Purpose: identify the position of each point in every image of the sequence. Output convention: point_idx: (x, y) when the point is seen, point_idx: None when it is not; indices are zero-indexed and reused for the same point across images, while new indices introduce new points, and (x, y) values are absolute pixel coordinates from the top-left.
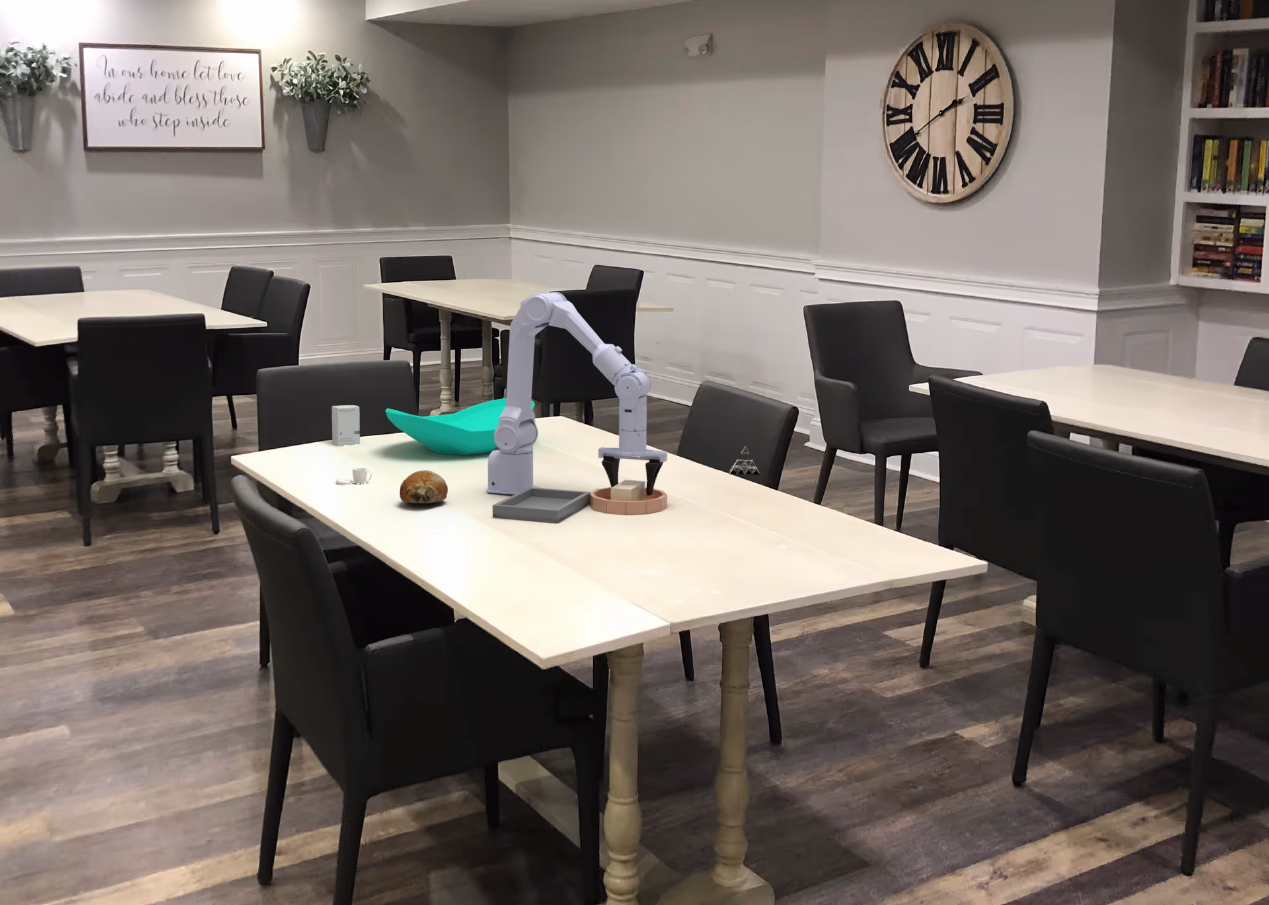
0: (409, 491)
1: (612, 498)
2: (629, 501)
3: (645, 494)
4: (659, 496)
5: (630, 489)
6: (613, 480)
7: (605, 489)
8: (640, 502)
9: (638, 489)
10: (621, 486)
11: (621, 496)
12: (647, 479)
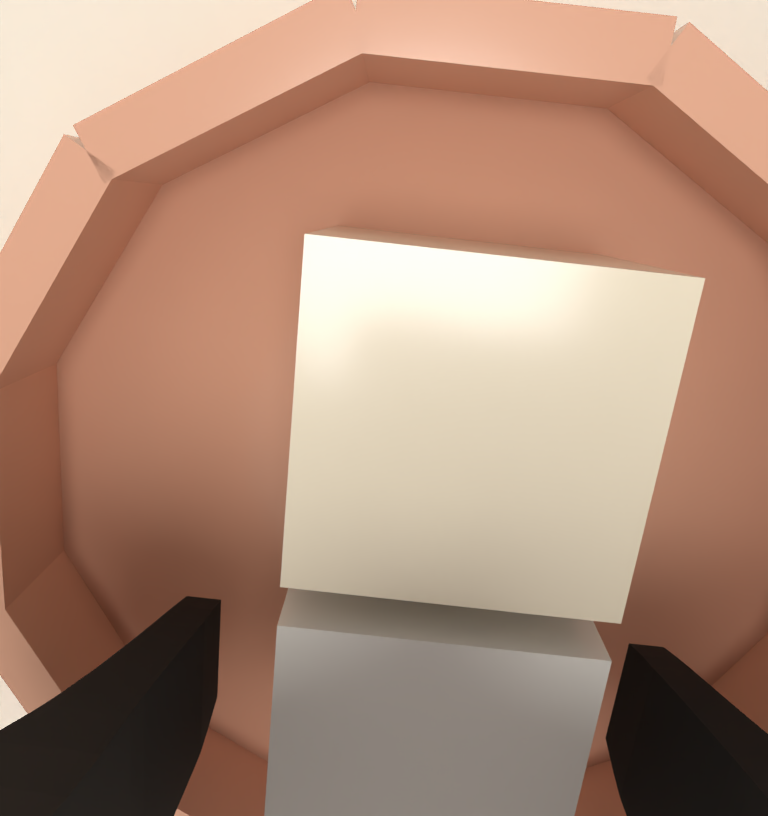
0: None
1: (611, 260)
2: (307, 43)
3: None
4: None
5: (320, 241)
6: (719, 745)
7: None
8: (150, 92)
9: None
10: (531, 457)
11: (478, 246)
12: (111, 717)
